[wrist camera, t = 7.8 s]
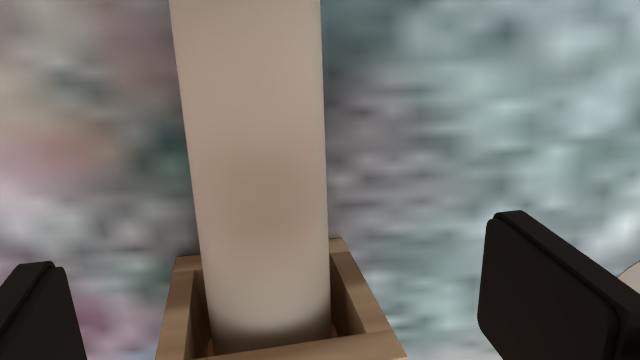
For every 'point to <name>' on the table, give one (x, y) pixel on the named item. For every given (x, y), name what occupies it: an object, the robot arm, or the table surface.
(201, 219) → the tube
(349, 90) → the table surface
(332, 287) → the socket
